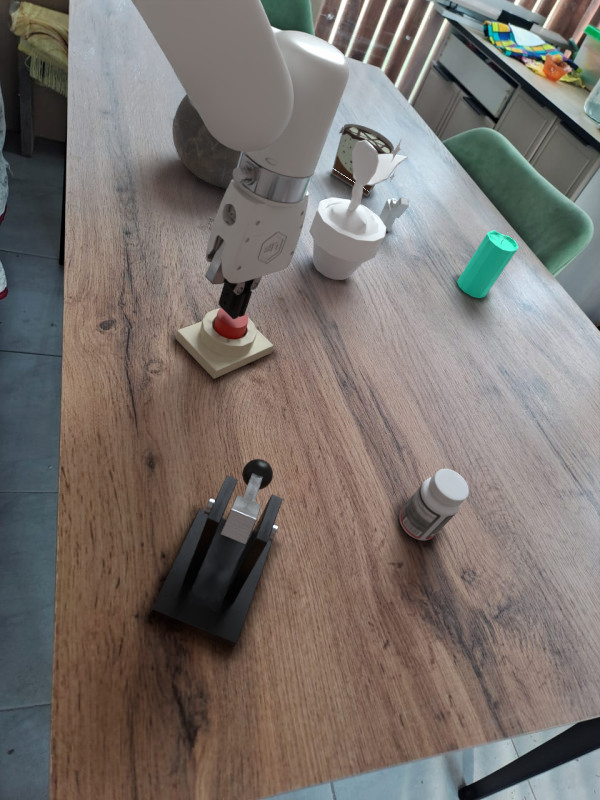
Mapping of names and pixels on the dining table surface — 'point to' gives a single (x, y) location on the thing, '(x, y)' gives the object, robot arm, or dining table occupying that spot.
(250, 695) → the dining table surface
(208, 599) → the bracket
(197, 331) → the button box
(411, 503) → the pill bottle
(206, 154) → the bowl
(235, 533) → the lever
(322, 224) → the potted plant
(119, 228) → the dining table surface
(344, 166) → the food container
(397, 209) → the white flat branched piece
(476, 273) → the candle
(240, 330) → the button
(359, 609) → the dining table surface
